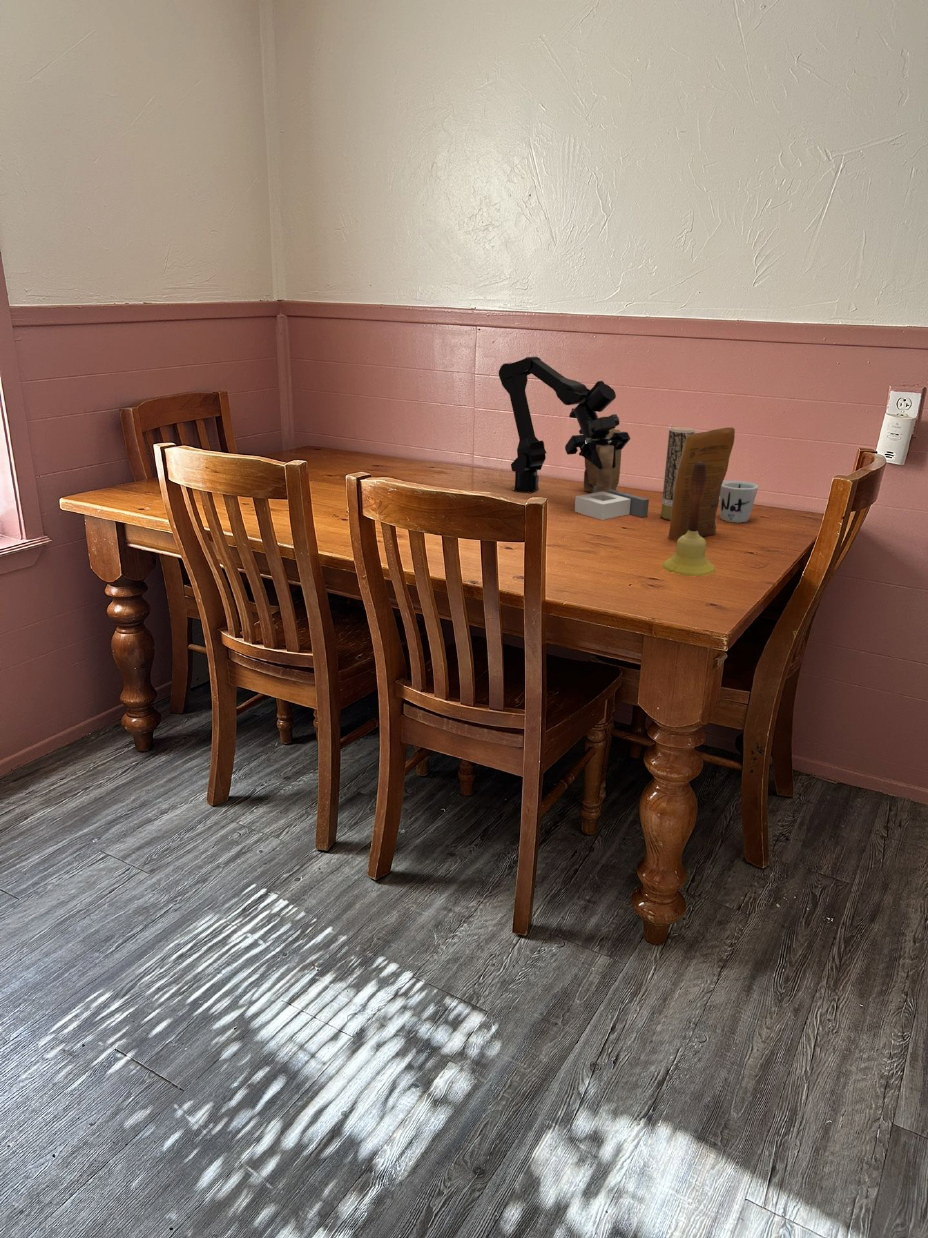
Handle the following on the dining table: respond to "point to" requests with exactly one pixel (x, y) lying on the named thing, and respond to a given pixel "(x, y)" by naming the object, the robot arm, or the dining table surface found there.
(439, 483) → the dining table surface
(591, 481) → the block
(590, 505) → the hole block
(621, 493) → the backstop wall
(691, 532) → the handbell
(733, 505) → the mug
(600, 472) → the dowel
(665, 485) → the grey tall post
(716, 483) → the pancake mix bag
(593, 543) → the dining table surface
